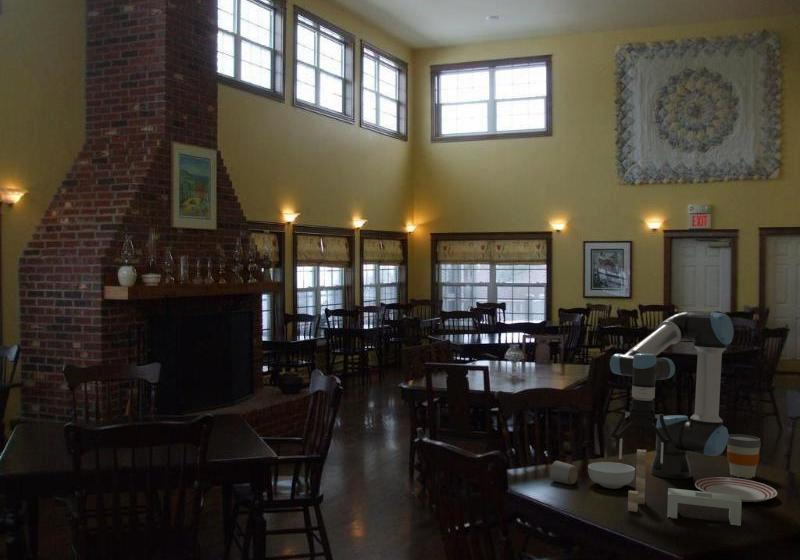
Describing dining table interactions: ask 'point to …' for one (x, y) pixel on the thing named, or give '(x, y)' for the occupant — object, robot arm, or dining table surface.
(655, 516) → the dining table surface
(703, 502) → the bridge
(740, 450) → the reusable coffee cup
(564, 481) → the ceramic mug
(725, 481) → the dinner plate
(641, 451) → the tall pin
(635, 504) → the short pin
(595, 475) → the cereal bowl
